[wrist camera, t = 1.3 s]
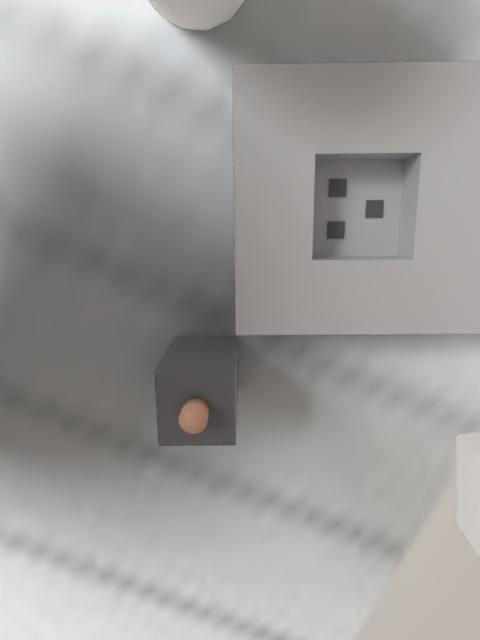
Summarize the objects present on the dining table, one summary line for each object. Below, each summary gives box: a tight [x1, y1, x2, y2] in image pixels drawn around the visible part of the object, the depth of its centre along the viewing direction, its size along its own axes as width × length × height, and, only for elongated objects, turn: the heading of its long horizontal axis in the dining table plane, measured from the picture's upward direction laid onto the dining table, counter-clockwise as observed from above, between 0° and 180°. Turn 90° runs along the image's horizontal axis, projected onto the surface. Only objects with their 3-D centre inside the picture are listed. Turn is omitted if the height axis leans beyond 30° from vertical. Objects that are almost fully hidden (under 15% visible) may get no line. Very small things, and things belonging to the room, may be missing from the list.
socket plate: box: [233, 61, 480, 335], centre depth 24 cm, size 14×14×4 cm
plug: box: [155, 336, 238, 446], centre depth 25 cm, size 4×4×8 cm
